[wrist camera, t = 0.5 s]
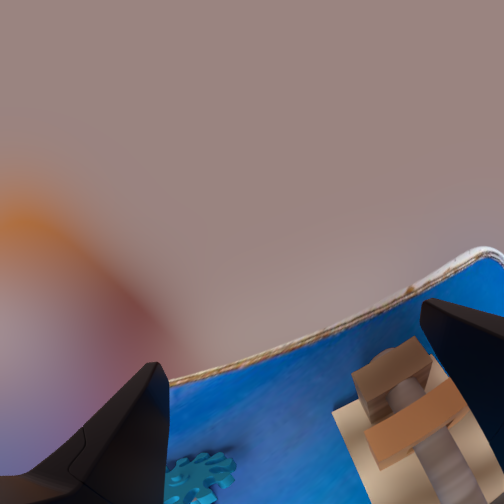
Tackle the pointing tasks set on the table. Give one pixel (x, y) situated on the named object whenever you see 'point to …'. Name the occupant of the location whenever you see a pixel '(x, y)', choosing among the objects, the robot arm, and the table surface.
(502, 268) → the table surface
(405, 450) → the collar
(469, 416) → the pipe rig
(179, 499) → the gear
